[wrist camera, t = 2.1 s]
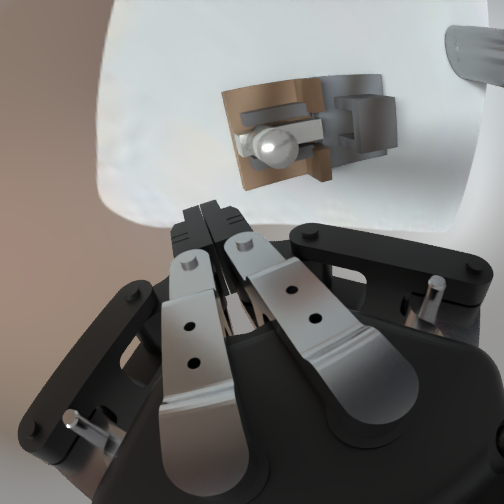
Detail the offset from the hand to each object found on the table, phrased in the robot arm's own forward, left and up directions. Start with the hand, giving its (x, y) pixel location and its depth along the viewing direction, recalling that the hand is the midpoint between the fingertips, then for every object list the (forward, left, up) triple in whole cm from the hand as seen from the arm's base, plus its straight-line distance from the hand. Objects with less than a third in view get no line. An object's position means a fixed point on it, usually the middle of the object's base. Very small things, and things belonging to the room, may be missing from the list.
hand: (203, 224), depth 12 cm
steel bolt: (-9, 0, -14) cm, 17 cm away
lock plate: (-14, 0, -16) cm, 21 cm away
